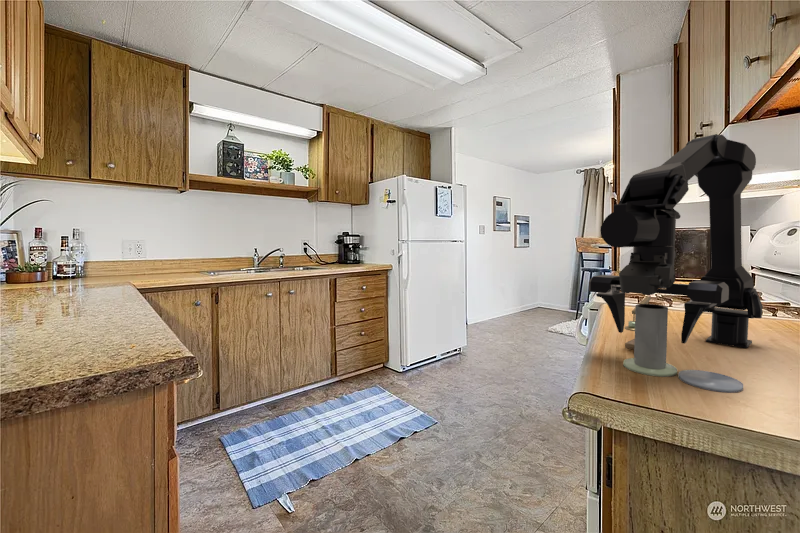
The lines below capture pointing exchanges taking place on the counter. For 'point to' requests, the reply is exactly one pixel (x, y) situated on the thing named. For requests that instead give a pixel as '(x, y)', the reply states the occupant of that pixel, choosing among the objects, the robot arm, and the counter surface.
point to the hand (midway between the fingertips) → (650, 337)
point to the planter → (650, 336)
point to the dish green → (665, 372)
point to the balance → (631, 324)
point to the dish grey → (711, 381)
